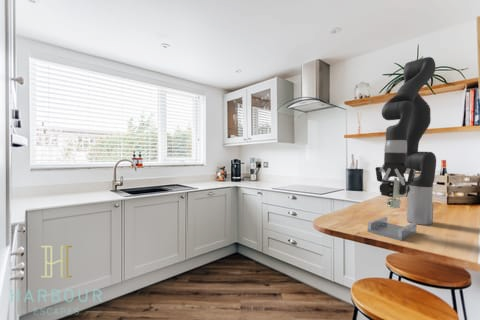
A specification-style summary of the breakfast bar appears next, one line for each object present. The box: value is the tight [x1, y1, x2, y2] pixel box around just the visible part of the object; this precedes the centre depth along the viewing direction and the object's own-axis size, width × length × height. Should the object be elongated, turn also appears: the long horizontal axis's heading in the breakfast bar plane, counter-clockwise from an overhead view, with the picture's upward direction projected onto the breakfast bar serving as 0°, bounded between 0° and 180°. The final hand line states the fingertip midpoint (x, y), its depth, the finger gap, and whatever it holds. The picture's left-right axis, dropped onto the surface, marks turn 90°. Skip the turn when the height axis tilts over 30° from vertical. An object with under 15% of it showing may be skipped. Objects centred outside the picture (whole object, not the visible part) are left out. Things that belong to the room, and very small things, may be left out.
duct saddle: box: [367, 216, 418, 241], centre depth 96 cm, size 16×12×4 cm
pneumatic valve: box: [379, 177, 410, 209], centre depth 96 cm, size 6×12×12 cm, turn 111°
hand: (393, 193), depth 96 cm, fingers closed on pneumatic valve, 5 cm apart
